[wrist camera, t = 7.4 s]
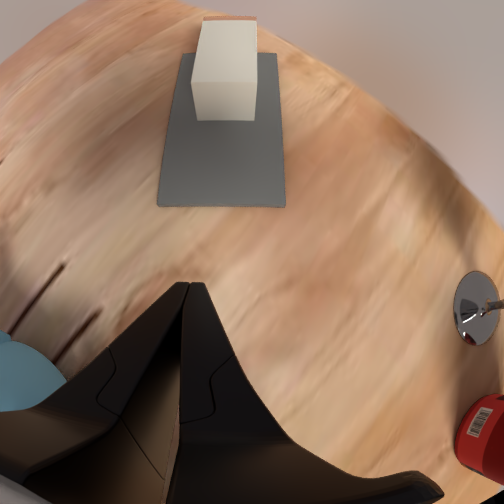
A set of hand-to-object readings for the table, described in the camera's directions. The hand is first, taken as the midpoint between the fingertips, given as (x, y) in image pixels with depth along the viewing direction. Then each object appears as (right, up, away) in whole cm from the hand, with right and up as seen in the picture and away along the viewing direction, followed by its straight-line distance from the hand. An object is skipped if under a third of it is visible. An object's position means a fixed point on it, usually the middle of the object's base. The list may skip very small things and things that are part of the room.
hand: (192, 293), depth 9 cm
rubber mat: (-1, +14, +17) cm, 22 cm away
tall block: (0, +13, +14) cm, 19 cm away
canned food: (+24, -16, +11) cm, 31 cm away
